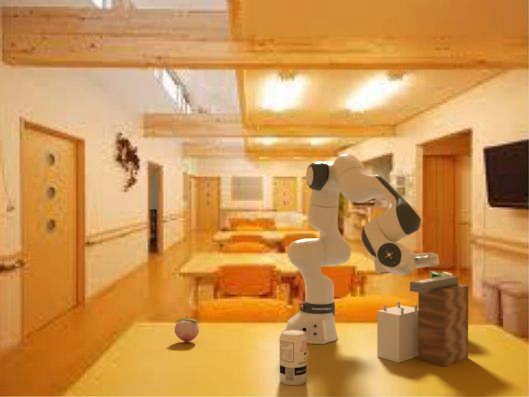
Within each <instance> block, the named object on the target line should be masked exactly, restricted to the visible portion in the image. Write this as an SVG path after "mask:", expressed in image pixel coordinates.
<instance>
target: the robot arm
mask: <svg viewBox="0 0 529 397" xmlns="http://www.w3.org/2000/svg"><path fill="white" fill-rule="evenodd" d="M305 180H306V184H307V186H308V187H309V189H311V193H310V199H309V208H308V209H309V210H308V218H307V220H308V223H309V225H310V227H312V228H313V229H315V230H316V231H319V237H317V238H302V239H298V240H294V241H292V242H291V243H290V245H289V246H288V249H287V258H288V260H289V262H290V263H291V265H293V266H294V267H295V268H296V269H297V270H299V272H300V274H301V276H302V278H303V281H304V292H305V294H304V295H305V299H304V301H302V300H299V301H298V306H299V309H300V311H298V312H296V314H294V315H293V316H292V317H290V318H289V319H288V320H287V323H286V326H285V330H301V331H304V332H305V335H306V337H307V344H309V345H310V344H316V345H325V344H327V343H331V342H334V341H336V340H339V336H338V333H337V329H336V328H337V327H336V322H335V315H336V302H335V298H334V297H335V290H334V289H335V285H334V282H333V280H332V279H331V278H330V277H328V276H327V275H325V274H323V272H322V268H321V267H328V266H329V267H331V266H335V267H336V266H338V265H339V266H340V265H342V264H346V263H347V262H349V260H350V258H351V256H352V248H351V245H350V243H349V242H348V241H347V240H346V239H345V238H344V237H343V236H342V234H341V232H340V230H339V223H338V221H339V219H338V218H339V205H340V193H341V195H342V196H343V197H344V198H345V199H346V200H347V201H350V202H353V203H359V204H360V203H365V202H367V201H370V200H371V201H372V200H374V199H378V198H385V199H386V200H387V201H388V202H389V203H390V205H391V207H389V209H387V210H385V211H384V212H382V213H381V214H379V215H378V216H376V217H374V218H373V219H371V220H370V221H368V222H367V223H365V224H364V225H363V226H362V228H361V241H362V243H363V245H364V247H365V248H366V250H367V252H368V253H369V254H370V255H371V256H372V257H373V262H374V269H375V273H376V274H393V275H394V274H395V275H401V276H405V275H408V274H410V273H412V272H414V270H415V269H418V268H426V267H427V268H428V267H436V266H439V265H440V259H439V254H438V253H434V252H423V253H415V252H414V251H413V250H412V249H411V248H409V247H407V246H405V245H404V244H401V243H400V242H399V241H401V240H402V239H404V238H405V237H407V236H409V235H412V234H414V233H415V232H417V231H419V230H420V229H419V228H420V226H421V222H422V218H421V215H420V213H419V211H418V210H417V209H416V207H415V206H413V205H412V204H411V203H410V202H408V201H406V199H404V198H403V196H402V195H400V193H399V192H398V191H397V190H396V189H395V188H394V187H393V186H392V184H390V183H389V182H388V181H387V180H386V179H385V178H383V177H382V176H381V175H379V174H371V173H369V172H368V170H367V168H366V167H365V166H364V165H363V163H362V162H361V161H360V160H359V159H358V158H357V157H356V156H355V155H353V154H351V153H344V154H340V155H339V156H338V157H336V159H335V160H333V161H314V162H311V163H310V164H309V165H308V167H307V169H306V173H305ZM280 335H281V333H280ZM280 335H279V336H280Z"/></svg>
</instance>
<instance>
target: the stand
mask: <svg viewBox="0 0 529 397" xmlns="http://www.w3.org/2000/svg"><path fill="white" fill-rule="evenodd" d="M417 294H418V303H417V308H418V356H417V360H418V361H421V362H425V363H429V364H432V365H436V366H440V367H443V368H445V367H448V366H449V365H453V364H455V363H457V362H460V361H463V360H465V359H469V285H467V284H466V285H465V284H459V283H458V285H457V286H452V287H448V288H443V289H438V290H434V291H429V292H424V293H419V292H417Z"/></svg>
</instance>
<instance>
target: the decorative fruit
mask: <svg viewBox="0 0 529 397" xmlns="http://www.w3.org/2000/svg"><path fill="white" fill-rule="evenodd" d="M174 323H175V326H174V334H175V335H176V337H177V338H178V339H179V340H181V341H182V342H185V343H190V342H191V341H193V340H194V339H196V338H197V337H198V334H199V332H200V330H199V328H200V326H199V322H198V321H197V319H196V318H195V319H194V318H188V316H186V317H185V318H179V319H177V320H175V321H174Z"/></svg>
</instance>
